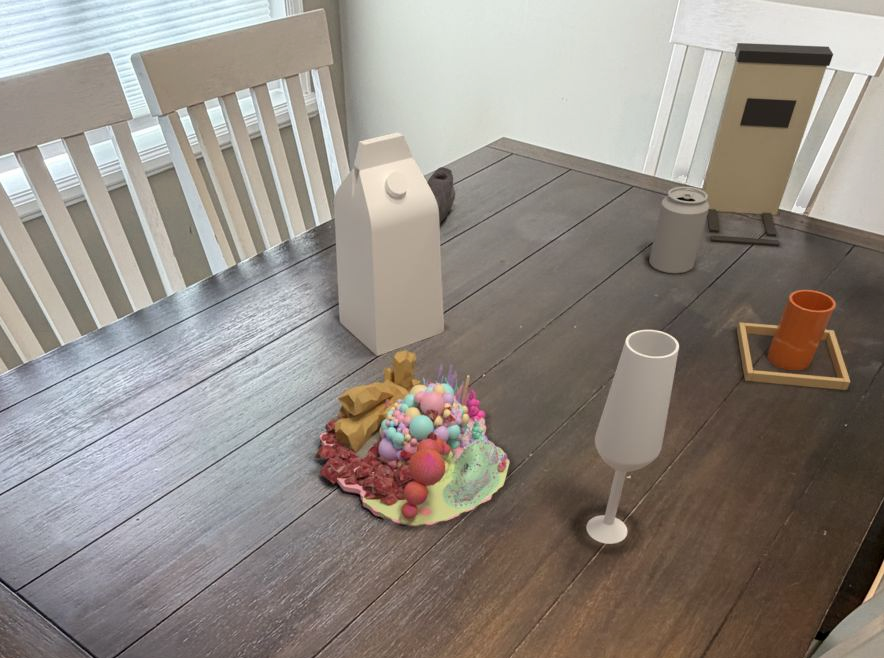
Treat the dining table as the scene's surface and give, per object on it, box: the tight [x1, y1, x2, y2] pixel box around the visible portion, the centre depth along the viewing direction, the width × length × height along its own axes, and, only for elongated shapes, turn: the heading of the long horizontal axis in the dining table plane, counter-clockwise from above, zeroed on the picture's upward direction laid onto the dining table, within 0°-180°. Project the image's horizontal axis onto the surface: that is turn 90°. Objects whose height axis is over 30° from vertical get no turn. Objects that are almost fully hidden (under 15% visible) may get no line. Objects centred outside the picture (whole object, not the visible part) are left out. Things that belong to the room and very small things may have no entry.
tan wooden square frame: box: [736, 321, 851, 391], centre depth 105 cm, size 14×14×2 cm
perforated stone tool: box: [426, 166, 456, 225], centre depth 135 cm, size 15×5×7 cm, turn 164°
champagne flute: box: [586, 329, 680, 545], centre depth 75 cm, size 7×7×24 cm
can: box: [648, 186, 709, 274], centre depth 121 cm, size 8×8×12 cm
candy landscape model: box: [314, 349, 511, 527], centre depth 90 cm, size 25×24×9 cm
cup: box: [766, 289, 837, 371], centre depth 102 cm, size 6×6×9 cm
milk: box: [333, 132, 445, 357], centre depth 103 cm, size 12×12×26 cm
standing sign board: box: [701, 42, 834, 248], centre depth 125 cm, size 15×18×26 cm
